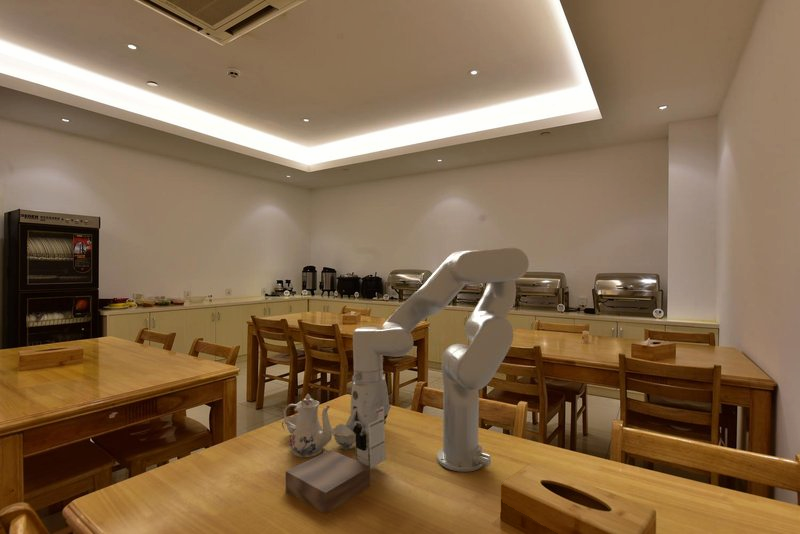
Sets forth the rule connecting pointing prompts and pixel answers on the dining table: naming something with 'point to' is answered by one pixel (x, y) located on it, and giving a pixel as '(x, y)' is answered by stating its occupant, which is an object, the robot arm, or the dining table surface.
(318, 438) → the chinaware
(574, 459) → the dining table surface
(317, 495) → the walnut block
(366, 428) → the syrup box
